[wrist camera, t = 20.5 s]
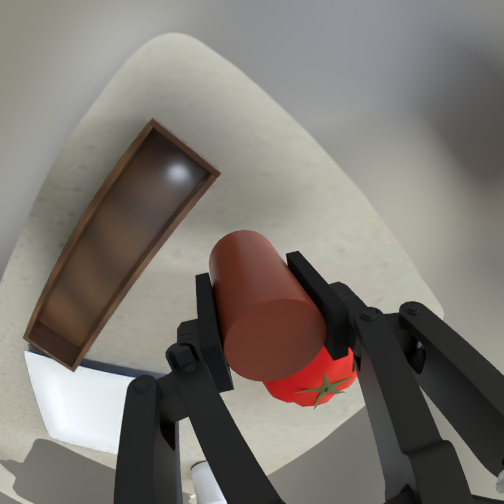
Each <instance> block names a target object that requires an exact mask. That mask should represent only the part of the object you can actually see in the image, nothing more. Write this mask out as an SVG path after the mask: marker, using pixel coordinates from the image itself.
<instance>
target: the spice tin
mask: <svg viewBox="0 0 504 504" xmlns="http://www.w3.org/2000/svg"><path fill="white" fill-rule="evenodd" d="M209 268H210V275H211V281H212V288H213V294H214V300H215V306H216V312H217V318H218V324H219V330H220V336H221V342H222V347H223V353H224V356H225V359H226V362H227V364H228V365H229V366H230V368H231V369H232V370H233V371H234V372H236V373H237V374H239V375H240V376H242V377H244V378H247V379H250V380H254V381H275V380H280V379H284V378H287V377H290V376H292V375H294V374H296V373H298V372H300V371H301V370H303V369H304V368H306V367H307V366H308V365H309V364H310V363H312V361H313V360H314V359H315V358H316V357H317V356H318V354H319V353H320V351H321V349H322V347H323V345H324V343H325V339H326V322H325V319H324V317H323V315H322V313H321V312H320V311H319V309H318V308H317V306H316V305H315V304H314V302H313V301H312V299H311V298H310V297H309V295H308V294H307V292H306V291H305V290H304V288H303V287H302V285H301V284H300V283H299V281H298V280H297V279H296V277H295V276H294V274H293V273H292V272H291V270H290V269H289V268H288V266H287V265H286V263H285V262H284V261H283V259H282V258H281V257H280V255H279V254H278V252H277V251H276V250H275V248H274V247H273V246H272V244H271V243H270V242H269V241H268V239H266V238H265V237H264V236H263V235H261V234H259V233H257V232H254V231H247V230H242V231H236V232H233V233H230V234H228V235H226V236H224V237H223V238H222V239H221V240H219V241H218V243H217V244H216V245H215V246H214V248H213V250H212V252H211V255H210V259H209Z"/></svg>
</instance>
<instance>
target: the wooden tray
mask: <svg viewBox="0 0 504 504" xmlns="http://www.w3.org/2000/svg"><path fill="white" fill-rule="evenodd" d="M220 174H221V172H220V171H219V170H218V169H217V168H216V167H215V166H214V165H213V164H211V163H210V162H209V161H208V160H207V159H205V158H204V157H203V156H202V155H200V154H199V153H198V152H197V151H196V150H194V149H193V148H192V147H191V146H189V145H188V144H187V143H186V142H184V141H183V140H182V139H181V138H179V137H178V136H177V135H176V134H174V133H173V132H172V131H171V130H169V129H168V128H167V127H166V126H164V125H163V124H162V123H160V122H159V121H157V120H156V119H154V118H152V119H151V120H150V122H149V124H147V125H146V127H145V128H144V129H143V130H142V131H141V133H140V134H139V135H138V137H137V138H136V139H135V140H134V142H133V143H132V144H131V146H130V147H129V148H128V150H127V151H126V152H125V154H124V155H123V156H122V158H121V159H120V160H119V162H118V163H117V165H116V166H115V167H114V169H113V170H112V172H111V173H110V174H109V176H108V177H107V179H106V180H105V182H104V183H103V185H102V186H101V188H100V189H99V191H98V192H97V194H96V195H95V197H94V198H93V200H92V202H91V203H90V205H89V206H88V208H87V210H86V211H85V213H84V214H83V216H82V218H81V219H80V221H79V223H78V224H77V226H76V228H75V230H74V231H73V233H72V235H71V237H70V238H69V240H68V242H67V244H66V246H65V247H64V249H63V251H62V253H61V255H60V257H59V259H58V261H57V263H56V265H55V267H54V268H53V270H52V272H51V275H50V277H49V279H48V281H47V283H46V285H45V287H44V289H43V291H42V294H41V296H40V298H39V300H38V302H37V305H36V307H35V309H34V312H33V314H32V317H31V319H30V321H29V324H28V326H27V329H26V332H25V334H24V337H23V339H25V340H26V341H27V342H29V343H30V344H32V345H33V346H34V347H36V348H37V349H39V350H40V351H41V352H43V353H44V354H46V355H47V356H49V357H50V358H52V359H53V360H55V361H56V362H58V363H59V364H61V365H63V366H64V367H66V368H67V369H69V370H71V371H72V372H75V371H76V369H77V367H78V366H79V364H80V363H81V361H82V359H83V358H84V356H85V355H86V353H87V352H88V350H89V349H90V347H91V345H92V344H93V342H94V341H95V339H96V338H97V336H98V335H99V333H100V332H101V330H102V329H103V327H104V326H105V324H106V323H107V321H108V320H109V318H110V317H111V316H112V314H113V313H114V311H115V310H116V308H117V307H118V305H119V304H120V303H121V301H122V300H123V298H124V297H125V296H126V294H127V293H128V291H129V290H130V289H131V287H132V286H133V284H134V283H135V282H136V280H137V279H138V278H139V276H140V275H141V273H142V272H143V271H144V269H145V268H146V267H147V265H148V264H149V263H150V261H151V260H152V259H153V257H154V256H155V255H156V253H157V252H158V251H159V250H160V248H161V247H162V246H163V244H164V243H165V242H166V240H167V239H168V238H169V237H170V235H171V234H172V233H173V232H174V230H175V229H176V228H177V226H178V225H179V224H180V223H181V221H182V220H183V219H184V218H185V216H186V215H187V214H188V213H189V212H190V210H191V209H192V208H193V207H194V205H195V204H196V203H197V202H198V201H199V199H200V198H201V197H202V196H203V195H204V193H205V192H206V191H207V190H208V189H209V187H210V186H211V185H212V184H213V183H214V181H215V180H216V179H217V178H218V177H219V176H220Z"/></svg>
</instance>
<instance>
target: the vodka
mask: <svg viewBox="0 0 504 504" xmlns="http://www.w3.org/2000/svg"><path fill="white" fill-rule="evenodd" d="M191 479H192V481H193V483H194V488H195V493H196V498H197V504H227V502H226V500H225V498H224V496H223V494H222V492H221V490H220V488H219V486H218V484H217V482H216V480H215V477H214V475H213V473H212V471H211V469H210V467H209V464H208V462H207V461H206V462H202V463H199V464H197V465H195V466H194V467H193V468H192V470H191Z"/></svg>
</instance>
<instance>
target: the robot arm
mask: <svg viewBox="0 0 504 504" xmlns="http://www.w3.org/2000/svg"><path fill="white" fill-rule="evenodd" d="M286 257H287V264H288V268H289V269H290V270H291V272H292V273H293V274H294V276H295V277H296V279H297V280H298V281H299V283H300V284H301V285H302V287H303V288H304V290H305V291H306V292H307V294H308V295H309V297H310V298H311V299H312V301H313V302H314V304H315V305H316V306H317V308H318V309H319V311H320V312H321V313H322V315H323V317H324V319H325V322H326V339H325V343H324V346H325V348H326V350H327V351H328V353H329V355H330V356H331V358H332V359H333V361H335V360H338V359H341V358H344V357H346V356H348V354H349V348H350V349H351V350H352V352H353V363H352V372H355V369H356V373H357V376H358V379H359V383H360V386H361V390H362V393H363V397H364V400H365V404H366V407H367V411H368V415H369V418H370V422H371V426H372V429H373V434H374V438H375V441H376V445H377V450H378V454H379V458H380V462H381V466H382V471H383V475H384V479H385V501H386V502H385V503H384V504H504V501H502V500H497V499H491V498H486V497H481V496H477V495H472V494H471V492H470V489H469V487H468V483H467V480H466V477H465V475H464V472H463V469H462V466H461V464H460V461H459V458H458V456H457V453H456V451H455V448H454V446H453V445H452V443H451V442H450V441H448V440H443V439H442V438H441V436H440V434H439V432H438V429H437V427H436V424H435V422H434V419H433V417H432V415H431V412H430V410H429V408H428V405H427V403H426V401H425V398H424V396H423V394H422V392H421V390H420V387H421V388H422V390H423V391H424V392H425V393H426V394H427V396H428V397H429V398H430V399H431V400H432V402H433V403H434V404H435V405H436V407H437V408H438V409H439V410H440V411H441V413H442V414H443V415H444V416H445V418H446V419H447V420H448V421H449V423H450V424H451V425H452V426H453V427H454V429H455V430H456V431H457V432H458V434H459V435H460V436H461V438H462V439H463V440H464V442H465V443H466V444H467V445H468V447H469V448H470V449H471V451H472V452H473V453H474V455H475V456H476V457H477V458H478V460H479V461H480V462H481V463H482V464H483V466H484V467H485V468H486V469H487V470H489V471H490V472H491V473H492V474H493V475H495V476H496V477H498V482H497V484H496V490H497V492H498V493H504V375H502V374H501V373H500V372H499V371H498V370H497V369H496V368H495V367H494V366H493V365H492V364H491V363H490V362H489V361H488V360H486V359H485V358H484V357H483V356H482V355H481V354H480V353H479V352H478V351H476V350H475V349H474V348H473V347H472V346H471V345H470V344H469V343H468V342H467V341H465V340H464V339H463V338H462V337H461V336H460V335H459V334H457V333H456V332H455V331H454V330H453V329H451V327H449V326H448V325H447V324H446V323H445V322H443V321H442V320H441V319H440V318H439V317H438V316H437V315H435V314H434V313H433V312H432V311H431V310H429V309H428V308H427V307H426V306H424V305H423V304H421V303H419V302H414V301H410V302H405V303H404V304H402V305H401V306H400V308H399V312H398V313H391V314H383V313H382V312H381V311H380V310H379V309H377V308H374V307H367V306H366V305H365V304H364V303H363V301H362V300H361V299H360V298H359V297H358V296H357V295H355V293H354V292H353V291H351V289H350V288H349V287H348V286H347V285H345V284H343V283H341V282H335V283H332V284H328V283H327V282H326V281H325V280H324V279H323V278H322V277H321V275H320V274H319V273H318V272H317V271H316V270H315V269H314V268H313V267H312V265H311V264H310V263H309V262H308V261H307V260H306V259H305V258H304V257H303V255H302V254H301V253H300V252H299V251H295V252H291V253H287V254H286ZM195 277H196V297H197V314H198V319H194V320H190V321H185V322H181V324H180V326H179V327H178V329H177V343H175V344H173V345H171V346H170V347H169V348H168V349H167V351H166V358H167V361H168V363H169V365H170V367H171V369H172V372H170V373H169V374H168V375H166V376H164V377H162V378H159V379H157V380H156V379H155V378H154V377H152V376H149V375H142V376H139V377H136V378H135V379H133V380H132V381H131V382H130V383H129V385H128V387H127V391H126V397H125V404H124V410H123V417H122V424H121V431H120V439H119V447H118V456H117V465H116V476H115V490H114V504H183V500H182V486H181V470H180V450H179V420H182V419H184V418H186V417H188V416H189V419H190V421H191V424H192V426H193V429H194V431H195V434H196V436H197V439H198V441H199V443H200V446H201V448H202V451H203V453H204V455H205V457H206V460H207V462H208V464H209V467H210V469H211V471H212V473H213V475H214V477H215V480H216V482H217V484H218V486H219V488H220V490H221V492H222V494H223V496H224V498H225V500H226V502H227V504H286V503H284V501H283V500H282V499H281V498H280V497H279V495H278V494H277V492H276V490H275V489H274V487H273V486H272V484H271V483H270V481H269V480H268V478H267V476H266V475H265V473H264V472H263V470H262V468H261V467H260V465H259V463H258V462H257V460H256V458H255V457H254V455H253V453H252V452H251V450H250V448H249V447H248V445H247V443H246V441H245V440H244V438H243V436H242V435H241V433H240V431H239V429H238V427H237V426H236V424H235V422H234V420H233V418H232V417H231V415H230V413H229V411H228V409H227V407H226V405H225V404H224V402H223V400H222V398H221V396H220V394H219V393H221V392H225V391H230V390H234V387H233V382H232V377H231V373H230V368H229V365H228V364H227V362H226V359H225V356H224V353H223V347H222V342H221V336H220V330H219V324H218V318H217V312H216V306H215V300H214V294H213V288H212V285H211V281H210V277H209V273H204V274H200V275H195ZM419 386H420V387H419Z"/></svg>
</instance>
